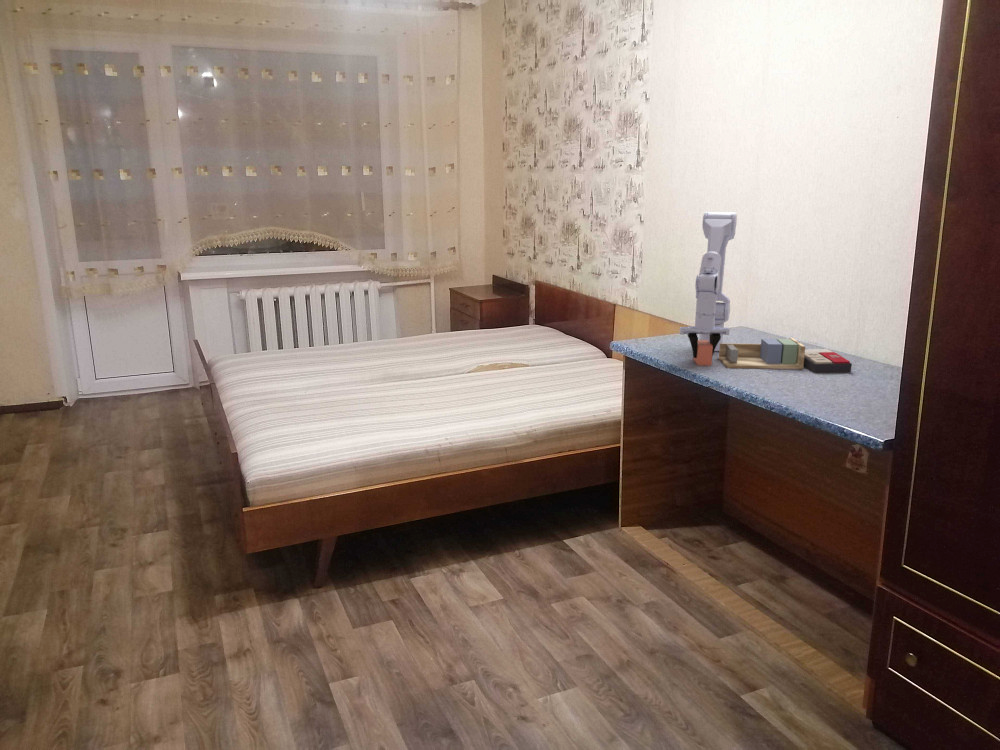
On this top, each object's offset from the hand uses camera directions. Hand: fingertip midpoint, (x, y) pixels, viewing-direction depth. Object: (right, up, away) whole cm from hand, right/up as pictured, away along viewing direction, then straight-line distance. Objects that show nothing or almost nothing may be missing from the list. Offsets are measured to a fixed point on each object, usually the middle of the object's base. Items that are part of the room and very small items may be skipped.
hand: (702, 357), depth 230 cm
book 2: (+20, -1, -2) cm, 20 cm away
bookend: (+8, -1, -1) cm, 9 cm away
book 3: (+24, -1, -2) cm, 25 cm away
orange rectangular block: (0, -1, 0) cm, 2 cm away
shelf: (+17, -2, -2) cm, 17 cm away
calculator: (+34, -3, -5) cm, 35 cm away
